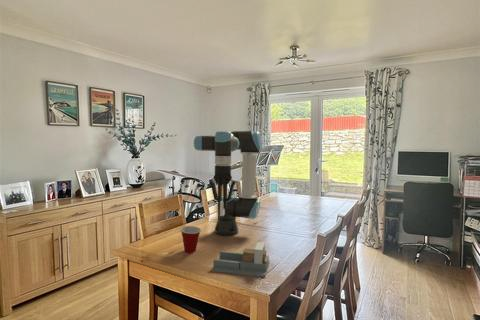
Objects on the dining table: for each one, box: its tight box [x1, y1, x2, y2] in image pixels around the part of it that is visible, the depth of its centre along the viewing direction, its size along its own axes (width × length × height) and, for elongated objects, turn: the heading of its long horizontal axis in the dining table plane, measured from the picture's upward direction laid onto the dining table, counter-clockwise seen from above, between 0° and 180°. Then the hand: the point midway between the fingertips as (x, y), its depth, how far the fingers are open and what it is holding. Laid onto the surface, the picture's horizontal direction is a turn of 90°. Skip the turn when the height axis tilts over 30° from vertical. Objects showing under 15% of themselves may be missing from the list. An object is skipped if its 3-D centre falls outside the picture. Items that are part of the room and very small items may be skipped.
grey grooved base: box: [211, 242, 270, 278], centre depth 134 cm, size 16×24×11 cm, turn 78°
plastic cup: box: [180, 225, 202, 254], centre depth 152 cm, size 11×11×12 cm
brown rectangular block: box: [242, 247, 267, 263], centre depth 133 cm, size 5×10×7 cm, turn 78°
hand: (222, 215), depth 135 cm, fingers closed
